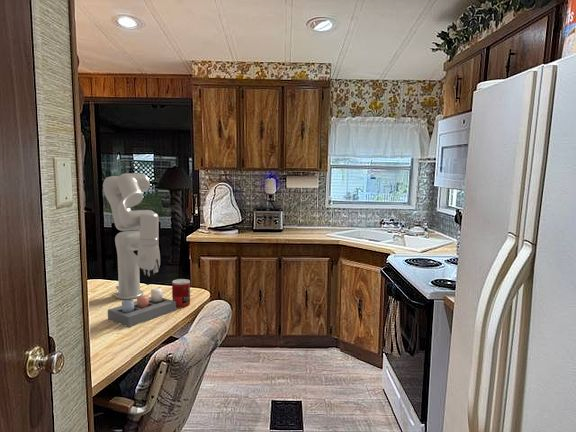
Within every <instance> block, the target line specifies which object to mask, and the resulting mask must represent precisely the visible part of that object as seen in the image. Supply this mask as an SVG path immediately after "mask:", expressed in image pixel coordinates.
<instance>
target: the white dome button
mask: <svg viewBox="0 0 576 432" xmlns="http://www.w3.org/2000/svg"><path fill="white" fill-rule="evenodd" d="M150 297H151V301H153V302H158V301H162V298H163V288H160V287H159V288H157V287H156V288H152V289H151V290H150Z"/></svg>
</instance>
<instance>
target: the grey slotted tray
mask: <svg viewBox="0 0 576 432" xmlns="http://www.w3.org/2000/svg"><path fill="white" fill-rule="evenodd" d="M176 311H177V307H176V301H172V299H169V298H165V297H162V301H158V302H153V301H151V296H149V307H146V308H143V309H140V308H137V300H134V311H133V312H130V313H127V314H125V313H122V305H119V306H115V307H112V308H109V309H107V320H109V321H112V322H114V323H116V324H119V325H122V326H124V327H127V328H130V327H133V326H136V325H139V324H142V323H145V322H147V321H150V320H154V319H156V318H158V317H161V316H164V315H167V314H170V313H172V312H176Z"/></svg>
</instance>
